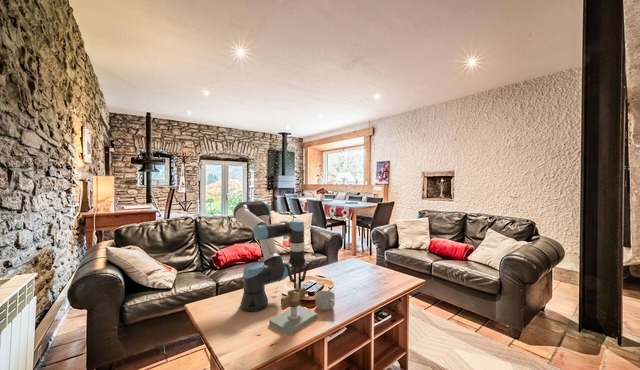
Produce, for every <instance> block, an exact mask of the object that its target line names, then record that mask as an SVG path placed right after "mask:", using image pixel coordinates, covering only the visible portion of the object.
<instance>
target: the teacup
mask: <svg viewBox="0 0 640 370" xmlns="http://www.w3.org/2000/svg"><path fill="white" fill-rule="evenodd" d="M314 295H315V303H314V304H315V307H317V309H318V310H320V311H323V312H324V311H326V312H327V311H330V310H332V309H333V308H334V306H335V296H336V295H335V293H334V292H332V291H330V290H319V291H317V292H315V294H314Z"/></svg>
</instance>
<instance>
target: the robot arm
mask: <svg viewBox="0 0 640 370" xmlns="http://www.w3.org/2000/svg"><path fill="white" fill-rule="evenodd" d="M271 212H272V211H271V207H270V205H269V203H268V202H267V201H266V200H253V201H252V200H251V201H242V202H240V203H238V204H236V206H235V207H234V209H233V212H232V213H233V217H234V219H235V220H236V221H237V222H239V223H242V224H244V225H245V226H247V227H248V228H249V229H250V230H251V231H253V237H254V238H255V239H256V240H257V241H259V244H260V248H261V252H262V255H263V258H264V259H263V261H255V262H250V263H248V264H247V265H245V266H244V267H243V270H242V271H243V272H242V273H243V274H242V277H243V278H242V280H243V293H242V297H241V301H240V309H241V310H242V311H243V312H246V313H247V312H248V313H255V312H259V311H262V310H264V309H266V308H267V307H268V305H269V299H268V297H267V294H266V291H265V286H266V285H270V284H273V283H277V282H281V281H283V280H285V279H286V278H289V281H290V283H293V290H298V289H300V288H302V282H305V279H306V275H307V271H308V267H309V266H310V262H309V261H306V258H305V221H303V220H301V219H292V220H290V222H289V221H284V220H283V221H282V220H281V221H279V222H276V223H269V219H270V216H271V214H272V213H271ZM281 237H289V260H288V261H287V260H286V259H283V256H282V255H280V254H279V253H278V250H277V249H278V248H277V246H276V243H275V240H274V238H281ZM290 266H291V267H292V268H293V274H292V271H291V267H290ZM303 266H304V268H303V272H302V267H303ZM297 270H298V281H297ZM302 273H303V274H302Z"/></svg>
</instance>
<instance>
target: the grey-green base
mask: <svg viewBox="0 0 640 370" xmlns="http://www.w3.org/2000/svg"><path fill="white" fill-rule="evenodd" d="M318 316H319V315H318V312H315V311H313V310H311V309H309V308H306V307H304V306H301V304H300V305H299V306H297V307H290V309H288V310H286V311H284V312H282V313H280V314H278V315H276V316H274V317H273V318H270V319H269V321H268V324H269V326H271V327H272V328H274V329H275V330H278V331H279V332H281V333H283V334H285V335H286V336H288V337H289V336H291V335H292V334H294V333H296V332H298V331H299V330H301V329H302V328H304V327H306V326H307V325H309V324H311V323H312V322H314V321H315V320H317V319H318V318H319V317H318Z"/></svg>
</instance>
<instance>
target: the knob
mask: <svg viewBox="0 0 640 370" xmlns="http://www.w3.org/2000/svg"><path fill="white" fill-rule="evenodd" d="M304 298H306V287H305V286H301V288H300V289H298V290H296V289H291V290H288V291H287V295H285V296H283V297H281V299H280V310H282V311H285V310H286V309H288V308H291V307H297V306H299V305H300V306H301V302H300V301H301V300H303V299H304Z"/></svg>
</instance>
